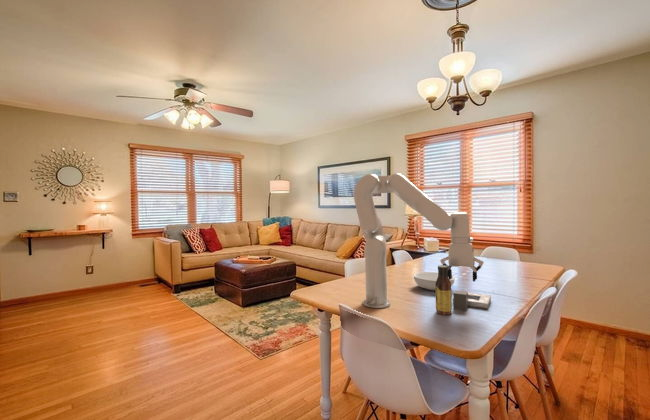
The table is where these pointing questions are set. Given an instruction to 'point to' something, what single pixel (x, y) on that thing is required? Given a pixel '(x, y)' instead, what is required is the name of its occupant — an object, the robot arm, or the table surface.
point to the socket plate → (478, 300)
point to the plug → (460, 300)
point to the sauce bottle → (443, 291)
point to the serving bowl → (428, 280)
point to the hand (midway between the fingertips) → (462, 279)
